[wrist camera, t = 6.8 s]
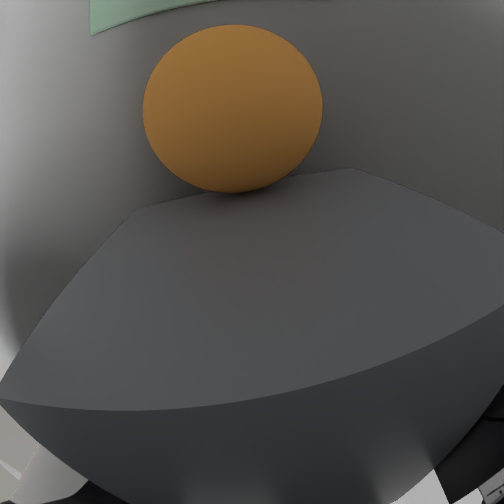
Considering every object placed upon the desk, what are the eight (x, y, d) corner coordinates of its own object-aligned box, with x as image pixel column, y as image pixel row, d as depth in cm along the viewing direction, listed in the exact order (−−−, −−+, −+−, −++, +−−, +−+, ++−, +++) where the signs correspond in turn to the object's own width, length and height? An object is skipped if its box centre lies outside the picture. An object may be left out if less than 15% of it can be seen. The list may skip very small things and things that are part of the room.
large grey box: (351, 167, 9) (556, 266, 2) (347, 388, 14) (396, 500, 7) (134, 210, 9) (-8, 396, 2) (218, 416, 14) (227, 540, 7)
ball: (289, 100, 10) (298, -4, 5) (326, 206, 9) (378, 94, 4) (168, 121, 10) (129, 22, 5) (174, 234, 9) (97, 139, 4)
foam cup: (23, 402, 15) (-17, 517, 3) (82, 390, 14) (39, 559, 2) (94, 458, 19) (79, 561, 7) (163, 454, 18) (161, 585, 6)
